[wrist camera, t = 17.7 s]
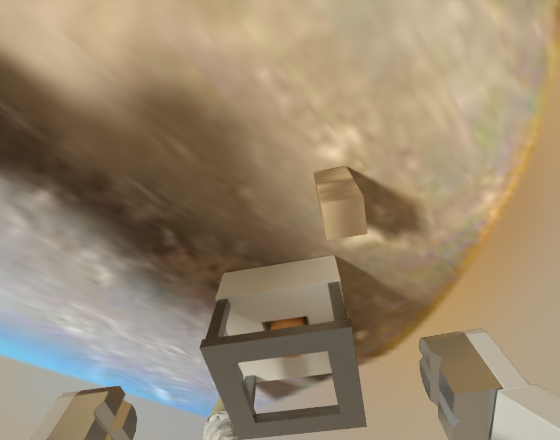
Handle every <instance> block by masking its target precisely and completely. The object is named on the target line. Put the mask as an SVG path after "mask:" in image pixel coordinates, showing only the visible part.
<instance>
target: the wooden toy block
mask: <svg viewBox="0 0 560 440" xmlns="http://www.w3.org/2000/svg"><path fill="white" fill-rule="evenodd" d="M313 173H314V179H315V185H316V191H317V197H318V202H319V207H320V212H321V216H322V221H323V225H324V230H325V234H326V239H327V240H333V239H339V238H345V237H351V236H357V235H363V234H367V225H366V215H365V205H364V196H363V194H362V193H361V191H360V189H359V188H358V186H357V184H356V182H355V181H354V179H353V177H352V176H351V174H350V172H349V170H348V169H347V167H346V166H343V167H338V168H332V169H327V170H322V171H316V172H313Z"/></svg>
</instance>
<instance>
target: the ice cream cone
mask: <svg viewBox="0 0 560 440" xmlns="http://www.w3.org/2000/svg"><path fill="white" fill-rule="evenodd" d="M203 435H204V440H238V437H237V435H236V432H235V430H234V428H233V425H232V423H231V421H230V418H229V416H228V414H227V411H226V409H225V406H224V404H223V402H222V399H221V397H219V399H218V401H217V403H216V405H215V407H214V409H213V411H212V412H211V414H210V416H209V417H208V418H207V421H206V424H205V430H204V434H203Z"/></svg>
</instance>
